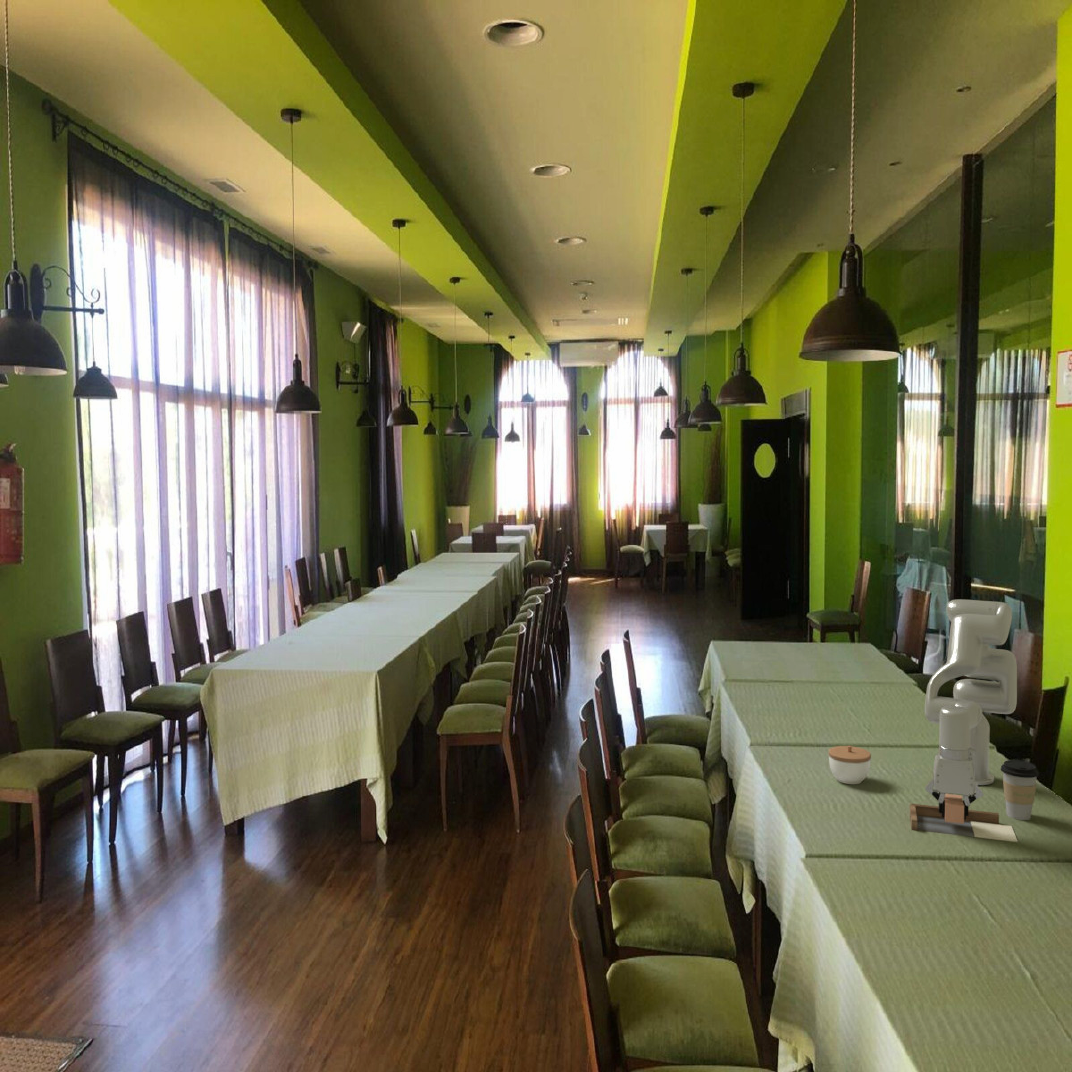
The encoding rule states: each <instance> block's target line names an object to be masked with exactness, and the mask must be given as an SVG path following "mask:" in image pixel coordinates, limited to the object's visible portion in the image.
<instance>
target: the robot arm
mask: <svg viewBox="0 0 1072 1072" xmlns="http://www.w3.org/2000/svg"><path fill="white" fill-rule="evenodd" d="M945 608H946V609H945V610H946V614H947V618H948V620H949V621H950V626H949V627H950V629H949V638H948V639H949V640H948V649H947V659H946V663H944V665H942V666H941V667H939V668H938V669H937V670H936V671H935V672H934V673H933V674H932V676H931V677H930V679H929V682H928V683H927V686H926V693H925V700H924V716H925V718H926V719H927V721H928V722H930V723H934V724H937V725H939V729H938V732H939V734H938V736H939V739H938V740H939V741H938V745H939V746H938V752H936V754H935V757H934V762H933V772H932V773H933V775H932V778H931V779H930V780H929V781H928V782H927V784H926V785H925V786H924V790H925V792H927V793H928V794H930V795H932V796H933V797H934V799H935V800H936V801H938V806H939V813H941V814H942V817H943V818H944V817H945V802H944V797H945V794H950V795H960V796H962V800H963V803H964V820H966V816H968V810H970V809H969V806H970V805H971V804H973V802H974V801H976V800H978V799H980V798H981V797H983V796H984V793H983V791H982V789H981V787H979V786H988V785H991V784H993V783H994V782H995V777H994V775H993V774H992V773H989V772H990V771H989V767H990V765H989V764H990V731H991V730H990V729H991V727H990V723H989V721H988V720H987V718H986V717H985V715H984V714H983V713H990V714H991V713H993V714H1001V715H1002V714H1003V715H1010V714H1013V713H1014V711H1016V707H1017V704H1018V702H1017V700H1018V669H1017V667H1018V665H1017V659H1016V656H1015V654H1014V653H1013V652H1012V651H1011V650H1007V649H1000V648H998V649H997V648H991V647H990V646H989V645H992V646H1003V645H1005V643H1006V641H1007V639H1008V637H1009V633H1010V629H1011V625H1012V620H1013V619H1012V618H1013V612H1012V608H1011V606H1010V605H1009V604H1008V603H1006V602H1002V601H992V600H991V601H989V600H978V599H974V600H973V599H960V598H959V599H951V600H950V601H948V602H947V604H946V607H945ZM959 677H967V678H964V679H960V680H957V681H956V682H955V684H954V685H953V691H952V694H953V695H952V696H953V697H946V696H938V693H939V690H940V688H941V687H942V686H943V685H945V683H947V682H949V681H951V680H954V679H956V678H959ZM990 680H991V681H990ZM992 680H993V681H992Z"/></svg>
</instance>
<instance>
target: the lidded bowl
mask: <svg viewBox="0 0 1072 1072" xmlns="http://www.w3.org/2000/svg"><path fill="white" fill-rule="evenodd" d="M871 759H872V753H871V752H870V751H868V750H867V749H865V748H863V747H857V746H852V745H837V746H833V747H831V748H829V749H828V763H829V767H830V768H829V769H830V771H831V772H832V775H833V776H834V777H835V778H836V780H837V781H838V782H840V783H842V784H845V785H859V784H862V781H863V780H865V779H866V778H867V777H868V776H869V773H870V769H871Z"/></svg>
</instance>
